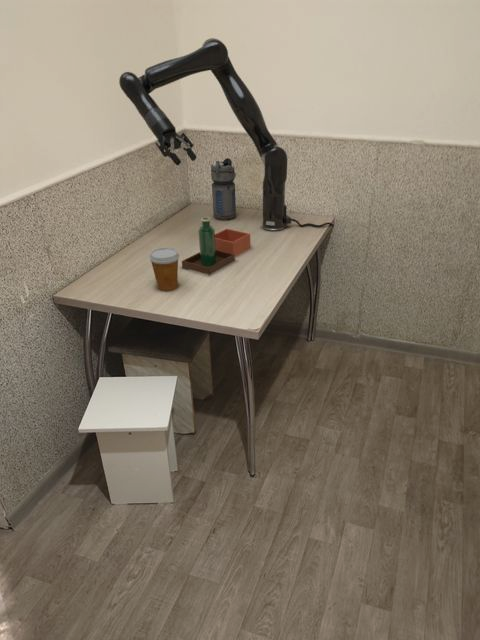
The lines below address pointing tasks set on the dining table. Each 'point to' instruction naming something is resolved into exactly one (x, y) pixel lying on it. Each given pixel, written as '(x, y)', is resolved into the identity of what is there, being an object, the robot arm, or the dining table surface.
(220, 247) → the bin
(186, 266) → the tray
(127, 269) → the dining table surface
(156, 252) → the disposable coffee cup
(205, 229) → the bottle
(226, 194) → the beverage bottle
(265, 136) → the robot arm
